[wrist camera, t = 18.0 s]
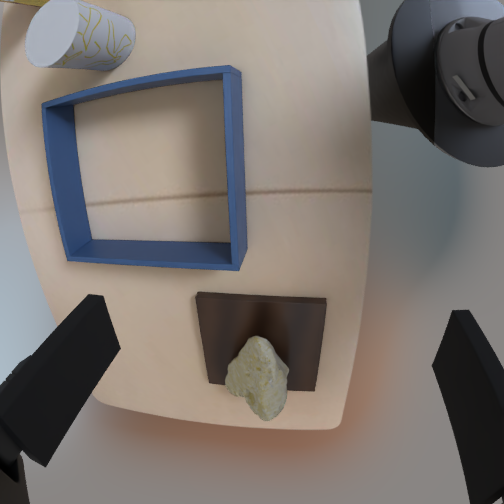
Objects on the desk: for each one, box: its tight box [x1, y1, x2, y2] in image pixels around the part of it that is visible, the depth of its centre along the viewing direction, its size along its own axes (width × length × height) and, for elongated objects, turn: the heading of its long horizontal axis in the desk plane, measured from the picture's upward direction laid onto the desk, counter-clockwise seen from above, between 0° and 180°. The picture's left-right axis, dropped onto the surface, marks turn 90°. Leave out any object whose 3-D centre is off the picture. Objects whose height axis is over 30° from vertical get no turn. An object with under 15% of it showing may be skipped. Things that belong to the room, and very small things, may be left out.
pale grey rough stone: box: [225, 336, 289, 421], centre depth 44 cm, size 15×7×15 cm
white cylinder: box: [25, 0, 136, 71], centre depth 26 cm, size 8×8×12 cm
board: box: [195, 292, 327, 391], centre depth 47 cm, size 18×18×2 cm
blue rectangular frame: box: [42, 65, 247, 271], centre depth 36 cm, size 25×22×6 cm
